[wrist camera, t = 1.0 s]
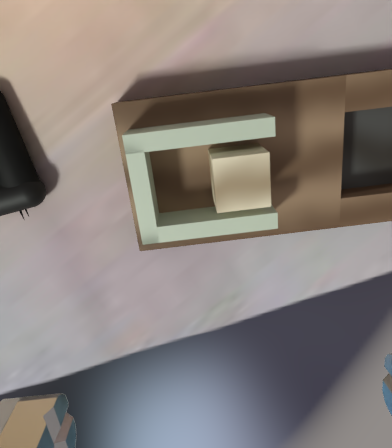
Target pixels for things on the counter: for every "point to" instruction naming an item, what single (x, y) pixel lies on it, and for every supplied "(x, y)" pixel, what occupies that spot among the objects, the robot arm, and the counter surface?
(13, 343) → the counter surface
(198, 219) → the cubby
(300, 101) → the board
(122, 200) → the counter surface
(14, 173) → the door handle
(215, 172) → the cube
